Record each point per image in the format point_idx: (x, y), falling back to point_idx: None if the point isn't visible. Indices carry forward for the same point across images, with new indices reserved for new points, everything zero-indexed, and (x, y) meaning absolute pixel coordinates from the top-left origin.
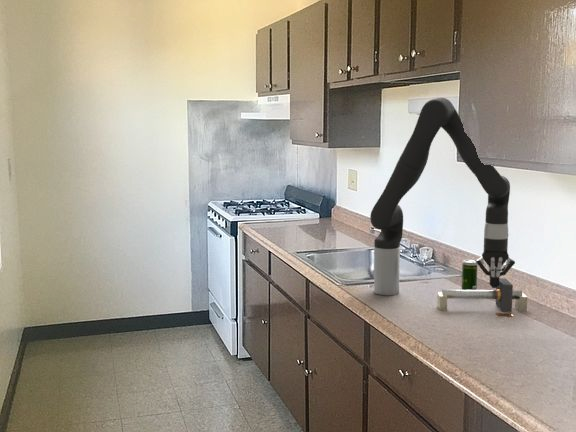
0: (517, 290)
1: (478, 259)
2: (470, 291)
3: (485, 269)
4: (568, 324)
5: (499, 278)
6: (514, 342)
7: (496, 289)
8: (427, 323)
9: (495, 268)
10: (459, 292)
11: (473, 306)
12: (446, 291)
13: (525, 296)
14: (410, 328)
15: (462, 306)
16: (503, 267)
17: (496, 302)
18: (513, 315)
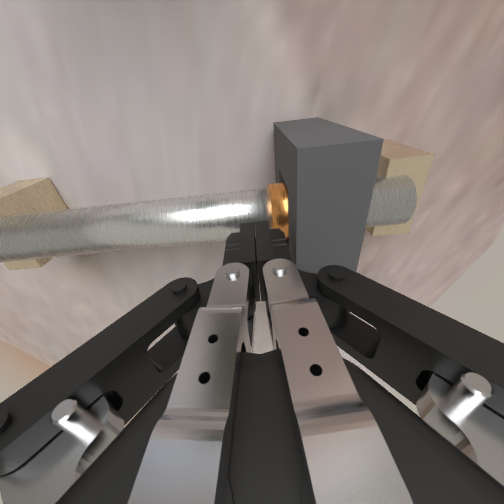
0: (390, 213)
1: (12, 488)
2: (130, 247)
3: (169, 369)
4: (429, 300)
5: (323, 151)
6: None
7: (283, 142)
8: (76, 332)
9: (272, 325)
10: (79, 253)
11: (170, 156)
12: (11, 259)
13: (404, 226)
14: (55, 358)
15: (123, 163)
16: (370, 318)
17: (275, 142)
18: None
